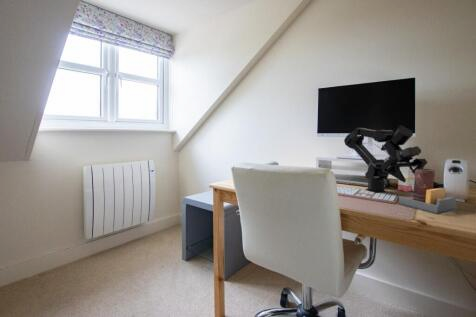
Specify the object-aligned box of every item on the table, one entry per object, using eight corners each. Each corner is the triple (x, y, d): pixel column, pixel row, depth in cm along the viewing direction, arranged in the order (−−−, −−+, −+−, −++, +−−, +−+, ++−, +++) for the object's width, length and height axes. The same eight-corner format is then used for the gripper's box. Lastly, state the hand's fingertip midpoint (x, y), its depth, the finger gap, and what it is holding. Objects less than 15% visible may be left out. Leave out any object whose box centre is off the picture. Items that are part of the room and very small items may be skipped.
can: (433, 206, 98) (436, 171, 97) (413, 204, 102) (415, 169, 100) (431, 203, 103) (434, 168, 102) (412, 200, 107) (415, 167, 105)
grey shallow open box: (398, 204, 104) (399, 192, 103) (417, 200, 109) (418, 189, 108) (436, 214, 91) (438, 200, 91) (456, 210, 96) (457, 197, 96)
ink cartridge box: (407, 192, 124) (409, 162, 123) (397, 189, 129) (399, 161, 127) (419, 190, 127) (421, 161, 126) (409, 188, 132) (411, 160, 130)
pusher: (425, 208, 96) (426, 189, 96) (439, 205, 100) (440, 187, 99) (432, 209, 94) (433, 191, 93) (446, 206, 98) (448, 188, 97)
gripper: (387, 140, 106) (407, 170, 96) (425, 139, 109) (448, 169, 100) (373, 156, 115) (390, 186, 105) (408, 155, 118) (428, 184, 109)
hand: (414, 181), depth 104 cm, fingers open, 9 cm apart
